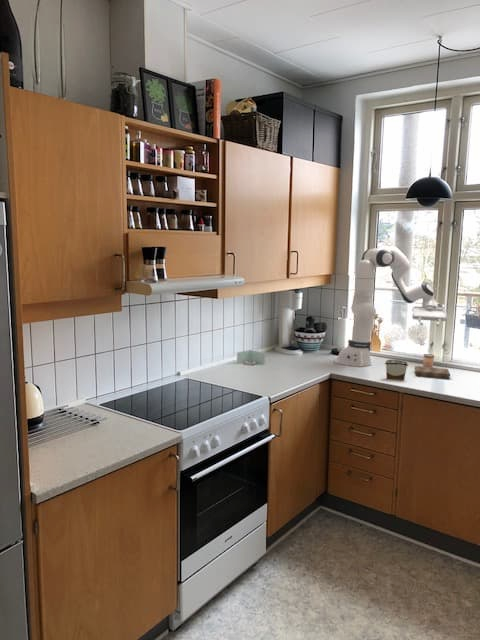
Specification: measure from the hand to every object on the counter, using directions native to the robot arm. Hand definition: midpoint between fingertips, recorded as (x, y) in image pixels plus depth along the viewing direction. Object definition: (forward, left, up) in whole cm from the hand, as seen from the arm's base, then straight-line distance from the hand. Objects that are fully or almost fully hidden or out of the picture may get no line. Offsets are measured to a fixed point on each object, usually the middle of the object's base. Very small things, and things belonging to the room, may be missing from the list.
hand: (429, 324), depth 315 cm
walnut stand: (+1, -26, -25) cm, 36 cm away
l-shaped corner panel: (-102, -41, -26) cm, 113 cm away
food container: (-20, -43, -26) cm, 54 cm away
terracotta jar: (0, -13, -25) cm, 28 cm away
